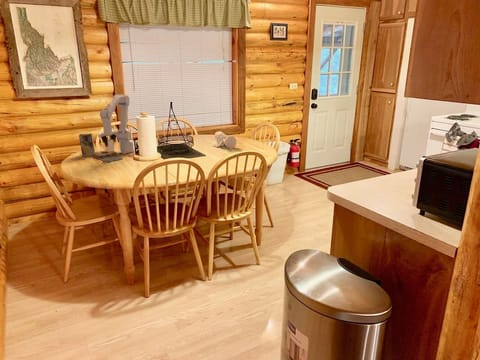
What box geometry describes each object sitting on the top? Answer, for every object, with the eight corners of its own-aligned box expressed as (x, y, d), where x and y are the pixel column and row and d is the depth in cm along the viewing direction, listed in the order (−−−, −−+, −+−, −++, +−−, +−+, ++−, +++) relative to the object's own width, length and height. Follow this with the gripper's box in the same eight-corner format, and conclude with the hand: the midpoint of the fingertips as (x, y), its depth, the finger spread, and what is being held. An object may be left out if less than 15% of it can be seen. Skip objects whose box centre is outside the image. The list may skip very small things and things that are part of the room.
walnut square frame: (110, 152, 288) (110, 149, 287) (117, 155, 280) (117, 152, 279) (92, 156, 279) (92, 152, 278) (99, 159, 271) (99, 155, 270)
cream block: (111, 149, 271) (110, 138, 268) (114, 150, 268) (113, 139, 265) (105, 150, 268) (104, 139, 265) (109, 151, 265) (107, 140, 262)
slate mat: (116, 156, 277) (116, 155, 277) (122, 159, 270) (122, 158, 270) (100, 159, 270) (100, 159, 269) (106, 162, 263) (106, 161, 262)
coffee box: (95, 153, 286) (92, 133, 281) (94, 155, 280) (91, 134, 275) (82, 154, 284) (79, 133, 278) (81, 156, 278) (78, 135, 272)
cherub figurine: (223, 137, 288) (210, 130, 303) (223, 152, 294) (210, 144, 308) (237, 134, 295) (223, 128, 310) (236, 149, 301) (223, 142, 315)
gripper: (113, 124, 270) (115, 142, 274) (95, 127, 259) (97, 146, 264) (118, 126, 265) (121, 144, 270) (100, 129, 255) (102, 148, 259)
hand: (109, 145), depth 266 cm, fingers closed on cream block, 4 cm apart
